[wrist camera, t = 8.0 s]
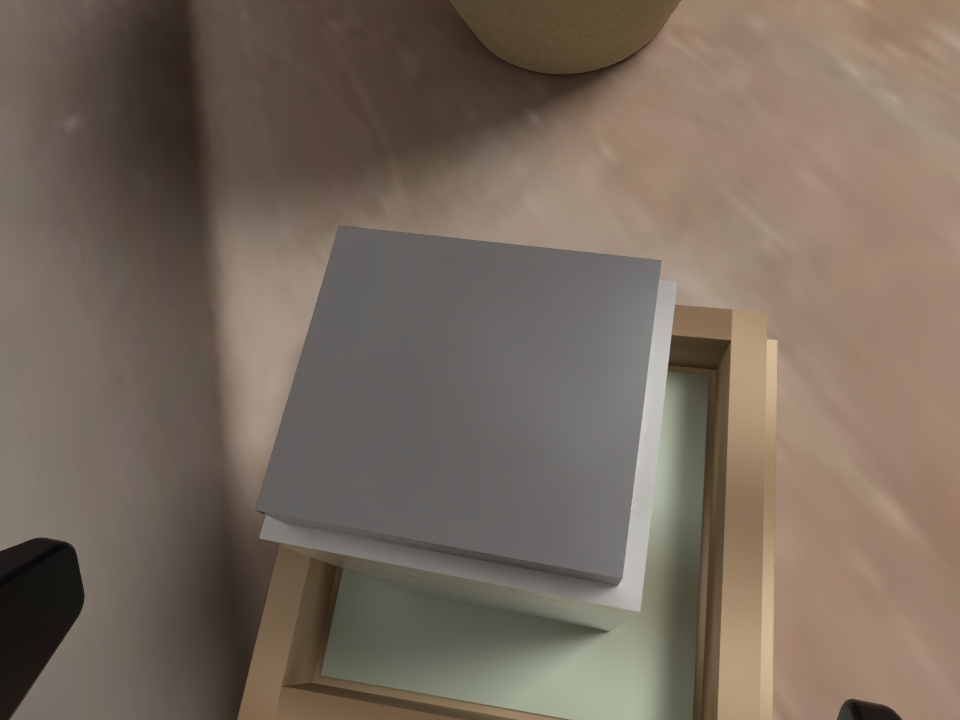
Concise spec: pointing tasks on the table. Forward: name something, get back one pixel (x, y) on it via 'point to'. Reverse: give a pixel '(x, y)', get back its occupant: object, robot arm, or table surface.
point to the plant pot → (564, 30)
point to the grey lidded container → (478, 423)
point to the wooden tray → (558, 645)
